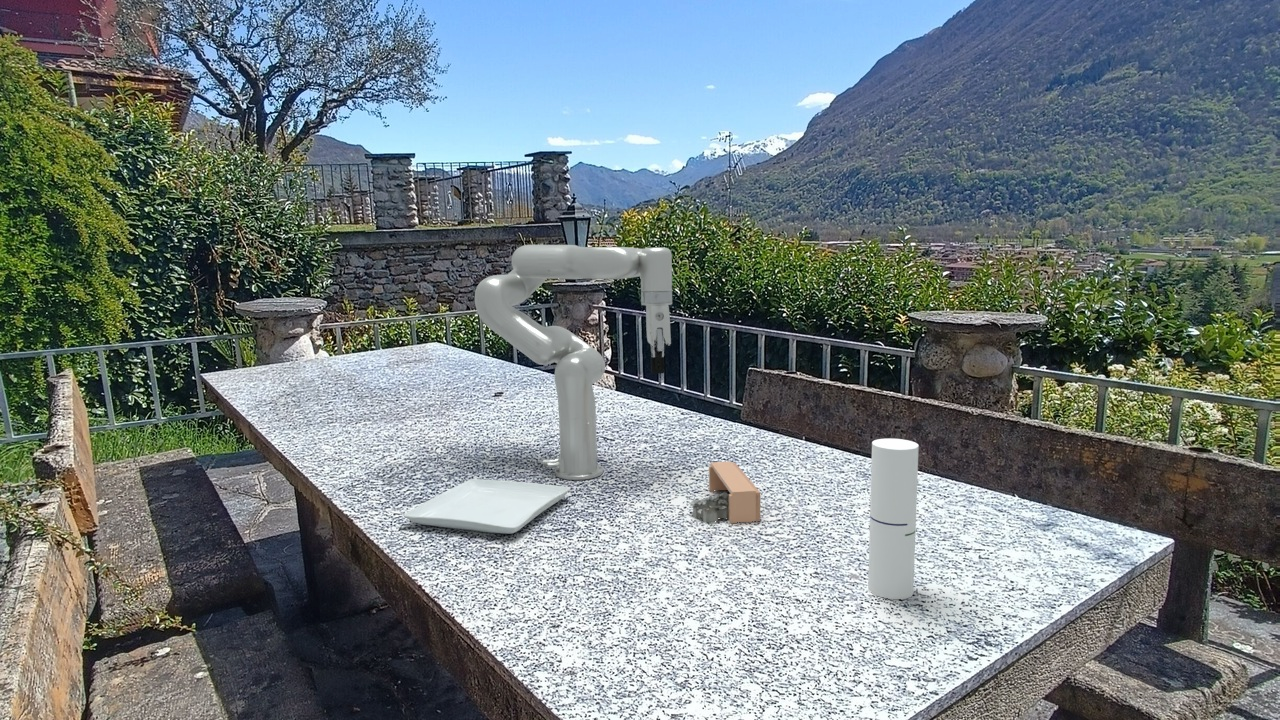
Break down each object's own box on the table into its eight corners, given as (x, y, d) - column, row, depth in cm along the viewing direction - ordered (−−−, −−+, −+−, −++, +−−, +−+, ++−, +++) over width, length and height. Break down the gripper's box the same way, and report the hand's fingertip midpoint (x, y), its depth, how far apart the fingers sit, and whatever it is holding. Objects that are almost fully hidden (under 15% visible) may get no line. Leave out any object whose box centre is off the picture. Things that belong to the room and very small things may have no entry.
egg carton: (707, 526, 154) (707, 507, 153) (687, 515, 160) (686, 497, 159) (747, 515, 159) (747, 497, 158) (726, 506, 165) (725, 488, 165)
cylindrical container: (861, 581, 126) (865, 439, 122) (901, 579, 126) (906, 437, 123) (878, 600, 119) (882, 450, 115) (921, 598, 119) (926, 448, 116)
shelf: (730, 523, 154) (729, 492, 153) (708, 490, 176) (708, 462, 175) (760, 521, 155) (760, 490, 154) (735, 488, 177) (735, 461, 176)
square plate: (573, 501, 171) (572, 485, 171) (516, 545, 146) (515, 526, 145) (471, 490, 180) (470, 475, 179) (401, 530, 154) (400, 513, 154)
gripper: (676, 300, 172) (677, 377, 175) (667, 296, 187) (668, 368, 189) (644, 300, 171) (646, 378, 174) (638, 297, 186) (639, 369, 189)
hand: (657, 372), depth 182 cm, fingers closed
